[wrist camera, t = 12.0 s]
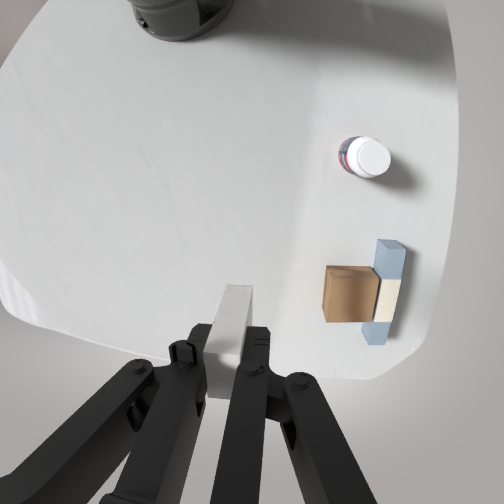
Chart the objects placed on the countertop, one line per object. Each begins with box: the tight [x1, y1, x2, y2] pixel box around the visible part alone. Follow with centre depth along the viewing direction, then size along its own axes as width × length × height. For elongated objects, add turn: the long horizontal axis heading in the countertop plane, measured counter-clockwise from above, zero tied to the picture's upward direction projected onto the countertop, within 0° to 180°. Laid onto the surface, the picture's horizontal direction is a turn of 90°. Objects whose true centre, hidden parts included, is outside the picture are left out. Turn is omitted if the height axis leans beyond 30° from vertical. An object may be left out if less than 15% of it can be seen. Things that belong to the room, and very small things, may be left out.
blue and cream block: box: [362, 239, 406, 345], centre depth 43 cm, size 3×16×5 cm, turn 179°
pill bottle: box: [338, 136, 391, 178], centre depth 35 cm, size 5×5×9 cm
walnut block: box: [322, 266, 379, 322], centre depth 43 cm, size 7×7×5 cm
